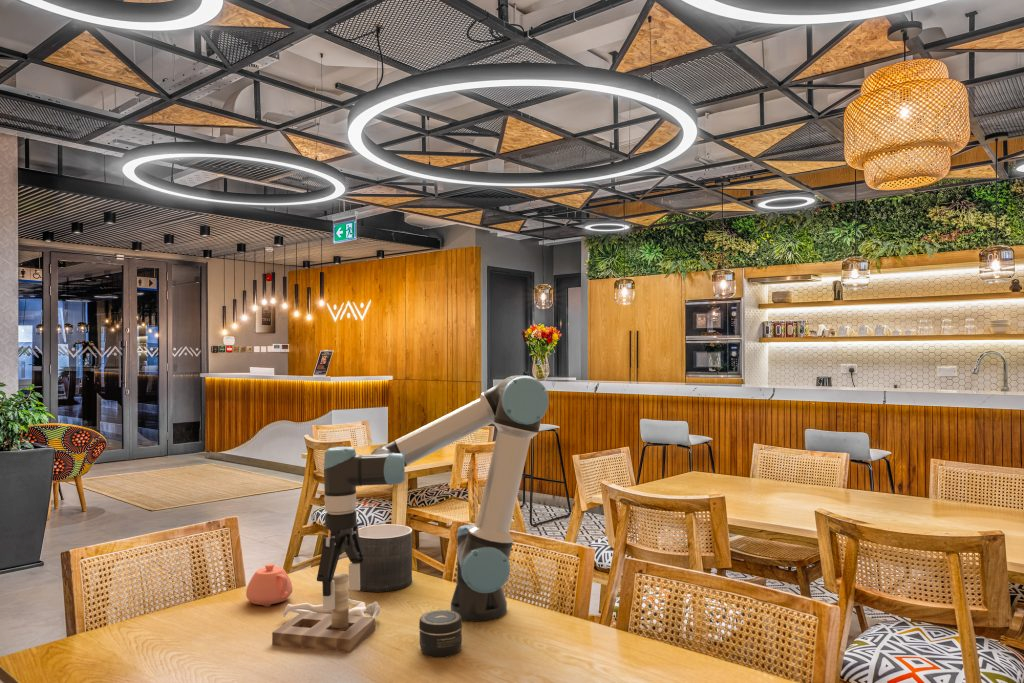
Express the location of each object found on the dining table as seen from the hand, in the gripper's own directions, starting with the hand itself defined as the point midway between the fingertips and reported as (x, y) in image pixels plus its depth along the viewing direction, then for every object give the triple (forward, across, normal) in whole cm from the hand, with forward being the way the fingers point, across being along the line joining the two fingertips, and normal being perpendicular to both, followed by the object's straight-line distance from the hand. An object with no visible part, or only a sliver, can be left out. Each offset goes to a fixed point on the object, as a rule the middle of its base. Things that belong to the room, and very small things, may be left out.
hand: (342, 599), depth 169 cm
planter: (+10, -42, -8) cm, 44 cm away
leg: (+9, 0, -1) cm, 10 cm away
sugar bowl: (+9, -20, -32) cm, 38 cm away
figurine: (+10, -9, -8) cm, 16 cm away
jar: (+10, +1, +25) cm, 27 cm away
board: (+9, 0, -5) cm, 10 cm away
